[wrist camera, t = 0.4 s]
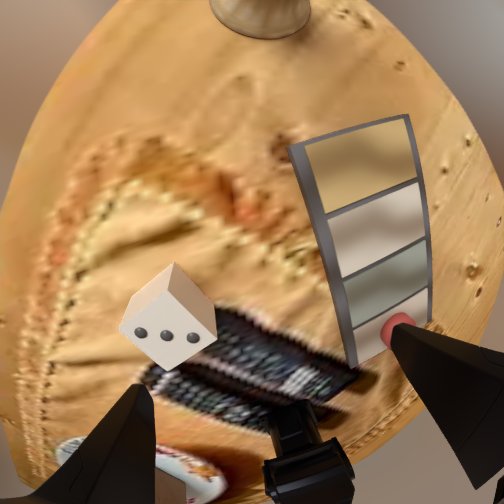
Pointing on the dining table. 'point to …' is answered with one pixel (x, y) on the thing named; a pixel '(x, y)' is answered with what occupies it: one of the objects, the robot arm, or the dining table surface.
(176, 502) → the wooden block
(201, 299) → the die
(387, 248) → the board
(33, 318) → the dining table surface
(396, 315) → the pawn
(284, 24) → the hand bell
